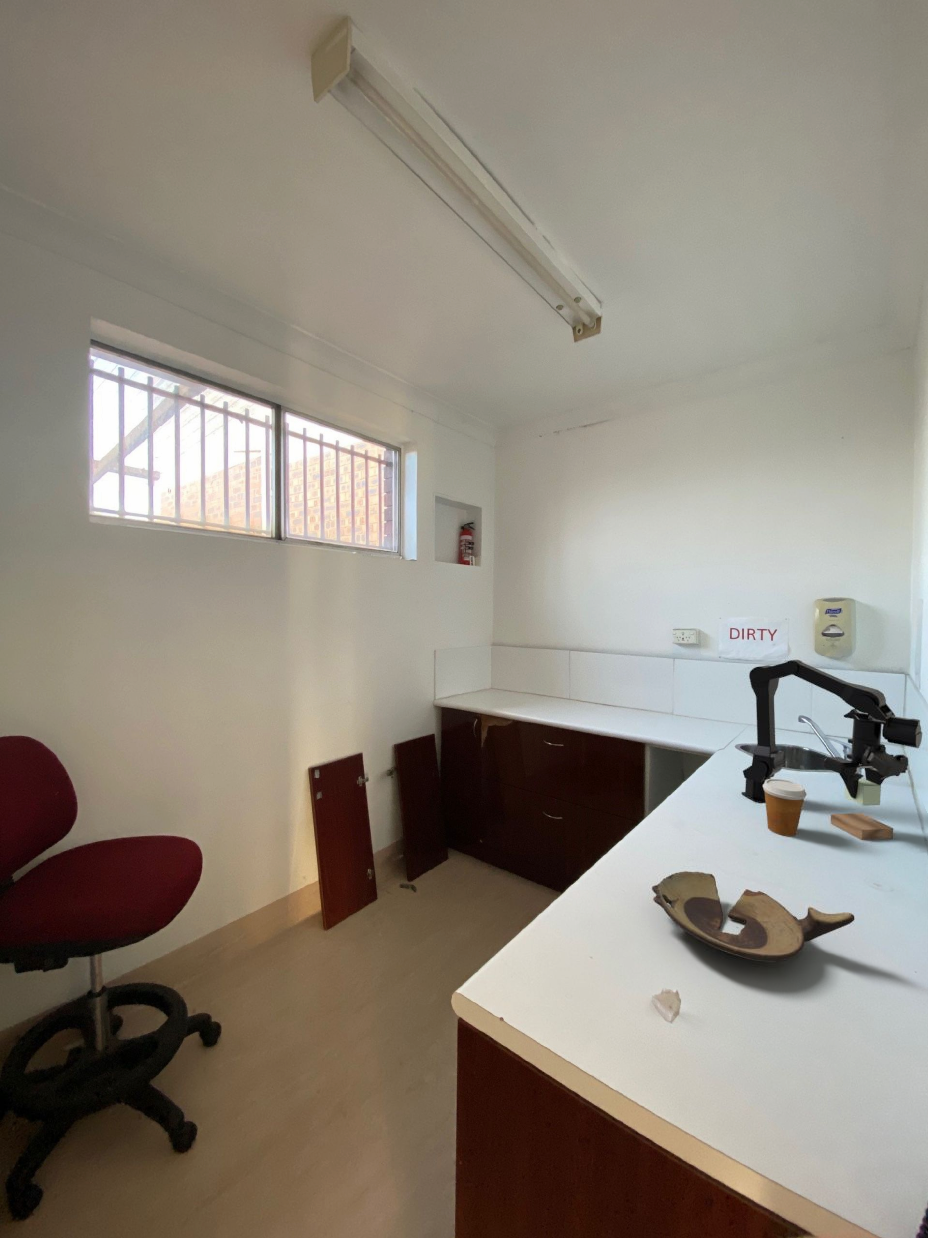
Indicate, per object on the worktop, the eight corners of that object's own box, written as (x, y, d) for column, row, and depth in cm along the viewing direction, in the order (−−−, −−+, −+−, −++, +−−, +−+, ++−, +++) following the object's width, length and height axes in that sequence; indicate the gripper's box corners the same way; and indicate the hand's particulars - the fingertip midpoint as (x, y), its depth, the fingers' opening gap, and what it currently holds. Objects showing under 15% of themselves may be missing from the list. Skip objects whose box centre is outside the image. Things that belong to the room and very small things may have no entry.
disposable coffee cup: (761, 833, 128) (764, 787, 128) (759, 819, 137) (762, 775, 136) (806, 843, 124) (809, 795, 123) (801, 827, 132) (804, 782, 132)
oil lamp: (672, 881, 106) (673, 845, 106) (852, 945, 88) (855, 902, 87) (634, 936, 89) (636, 893, 88) (849, 1030, 70) (853, 977, 70)
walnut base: (861, 839, 126) (862, 830, 126) (830, 823, 135) (830, 814, 135) (892, 838, 127) (893, 828, 127) (860, 822, 136) (860, 813, 136)
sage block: (862, 805, 128) (863, 786, 128) (845, 797, 133) (846, 779, 133) (879, 805, 129) (881, 785, 129) (861, 797, 134) (863, 778, 133)
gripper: (863, 748, 121) (859, 812, 122) (930, 746, 123) (925, 809, 124) (823, 735, 132) (820, 794, 133) (886, 734, 134) (882, 791, 135)
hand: (862, 797), depth 131 cm, fingers closed on sage block, 5 cm apart
